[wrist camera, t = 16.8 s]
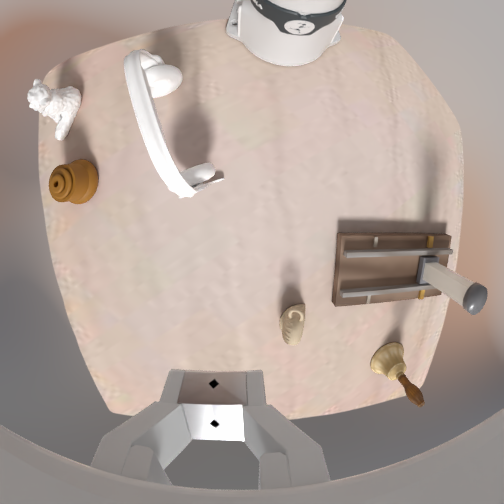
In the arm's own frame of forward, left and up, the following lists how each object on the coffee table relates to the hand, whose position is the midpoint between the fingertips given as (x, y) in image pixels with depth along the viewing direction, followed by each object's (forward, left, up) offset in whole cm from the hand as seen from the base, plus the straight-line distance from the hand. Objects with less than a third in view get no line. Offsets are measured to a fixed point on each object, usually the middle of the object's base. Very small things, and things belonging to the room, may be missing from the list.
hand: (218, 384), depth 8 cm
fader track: (+8, +28, -34) cm, 45 cm away
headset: (-14, -8, -34) cm, 38 cm away
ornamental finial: (-8, -26, -34) cm, 44 cm away
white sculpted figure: (-22, -30, -34) cm, 51 cm away
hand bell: (+29, +31, -34) cm, 55 cm away
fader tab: (+8, +34, -32) cm, 47 cm away
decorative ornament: (+17, +9, -34) cm, 39 cm away
